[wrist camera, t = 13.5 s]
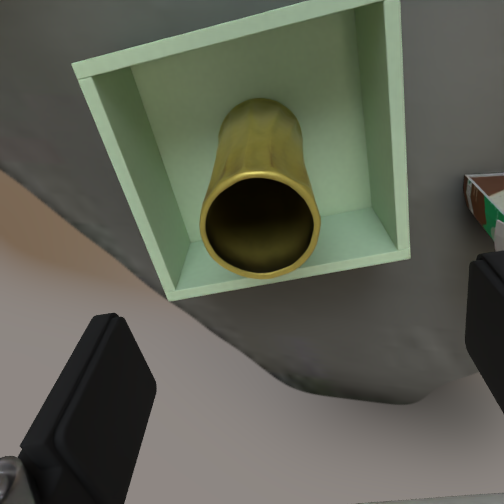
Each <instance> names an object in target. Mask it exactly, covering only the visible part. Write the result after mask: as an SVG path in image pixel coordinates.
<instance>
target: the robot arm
mask: <svg viewBox="0 0 504 504" xmlns="http://www.w3.org/2000/svg"><path fill="white" fill-rule="evenodd" d="M465 344H466V348H467V351H468V353H469V355H470V357H471V358H472V360H473V362H474V363H475V365H476V367H477V369H478V370H479V372H480V374H481V375H482V377H483V379H484V381H485V382H486V384H487V386H488V387H489V389H490V391H491V393H492V394H493V396H494V398H495V399H496V401H497V403H498V404H499V406H500V408H501V410H502V411H503V413H504V251H503V250H502V251H496V252H490V253H483V254H479V255H478V256H477V259H476V261H472V262H471V263H470V266H469V282H468V298H467V314H466V330H465ZM155 395H156V381H155V379H154V377H153V375H152V373H151V371H150V369H149V367H148V365H147V363H146V361H145V359H144V357H143V355H142V353H141V351H140V349H139V347H138V345H137V343H136V341H135V339H134V337H133V334H132V332H131V331H130V328H129V326H128V325H127V322H126V320H125V319H124V318H123V317H119V316H118V315H117V314H116V313H109V314H103V315H96V316H94V317H93V318H92V319H91V321H90V323H89V325H88V327H87V328H86V330H85V332H84V334H83V335H82V337H81V339H80V341H79V342H78V344H77V346H76V348H75V349H74V351H73V353H72V355H71V357H70V358H69V360H68V362H67V363H66V365H65V367H64V369H63V371H62V372H61V374H60V376H59V378H58V379H57V381H56V383H55V385H54V386H53V388H52V390H51V392H50V394H49V395H48V397H47V399H46V401H45V402H44V404H43V406H42V408H41V409H40V411H39V413H38V415H37V416H36V418H35V420H34V422H33V424H32V425H31V427H30V429H29V430H28V432H27V434H26V436H25V438H24V440H23V441H22V443H21V445H20V447H21V448H22V451H21V452H20V454H19V456H18V458H17V457H14V456H5V457H2V458H0V504H124V502H125V499H126V495H127V492H128V488H129V485H130V481H131V478H132V474H133V471H134V467H135V464H136V460H137V457H138V454H139V450H140V447H141V443H142V440H143V437H144V433H145V430H146V426H147V423H148V419H149V416H150V412H151V409H152V406H153V402H154V399H155ZM358 504H504V493H494V494H479V495H464V496H451V497H438V498H424V499H411V500H398V501H385V502H371V503H358Z"/></svg>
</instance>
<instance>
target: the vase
mask: <svg viewBox="0 0 504 504" xmlns="http://www.w3.org/2000/svg"><path fill="white" fill-rule="evenodd" d="M199 227H200V235H201V238H202V241H203V243H204V246H205V248H206V250H207V252H208V253H209V255H210V256H211V257H212V258H213V260H214V261H215V262H217V263H218V264H219V265H220V266H222V267H223V268H225V269H227V270H229V271H231V272H233V273H235V274H237V275H240V276H242V277H246V278H252V279H272V278H276V277H279V276H282V275H285V274H288V273H290V272H292V271H294V270H296V269H297V268H299V267H300V266H301V265H302V264H303V263H305V262H306V260H307V259H308V258H309V257H310V256H311V254H312V253H313V251H314V249H315V247H316V245H317V241H318V237H319V233H320V227H321V216H320V213H319V210H318V207H317V204H316V201H315V197H314V194H313V190H312V186H311V183H310V180H309V177H308V173H307V170H306V167H305V162H304V157H303V136H302V131H301V127H300V124H299V122H298V120H297V118H296V116H295V115H294V114H293V113H292V112H291V111H290V110H289V109H288V108H287V107H285V106H284V105H282V104H281V103H279V102H277V101H274V100H271V99H265V98H254V99H250V100H247V101H244V102H242V103H240V104H238V105H237V106H235V107H234V108H233V109H232V110H231V111H230V112H229V113H228V114H227V116H226V117H225V119H224V120H223V122H222V125H221V127H220V131H219V135H218V147H217V152H216V159H215V163H214V167H213V171H212V175H211V180H210V183H209V186H208V189H207V192H206V195H205V198H204V201H203V203H202V208H201V213H200V222H199Z"/></svg>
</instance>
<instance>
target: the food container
mask: <svg viewBox="0 0 504 504" xmlns="http://www.w3.org/2000/svg"><path fill="white" fill-rule="evenodd" d="M463 191H464V196H465V200H466V205H467V207H468V208H469V209H470V211H471V212H472V214H473V215H474V217H475V218H476V219H477V221H478V222H479V223H480V224H481V226H482V227H483V228H484V229H485V231H486V232H487V233H488V234H489V236H490V237H491V238H492V239H493V241H494V242H495V250H496V251H502V250H503V251H504V173H492V174H474V175H465V176H464V185H463Z"/></svg>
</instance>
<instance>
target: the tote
mask: <svg viewBox="0 0 504 504" xmlns="http://www.w3.org/2000/svg"><path fill="white" fill-rule="evenodd" d="M72 67H73V70H74V72H75V75H76V77H77V79H78V82H79V84H80V87H81V89H82V92H83V94H84V96H85V99H86V101H87V104H88V106H89V109H90V111H91V113H92V116H93V118H94V121H95V123H96V126H97V128H98V131H99V133H100V135H101V138H102V140H103V143H104V145H105V148H106V150H107V152H108V155H109V157H110V160H111V162H112V165H113V167H114V169H115V172H116V174H117V177H118V179H119V182H120V184H121V187H122V189H123V191H124V194H125V196H126V199H127V201H128V204H129V206H130V208H131V211H132V213H133V216H134V218H135V221H136V223H137V226H138V228H139V230H140V233H141V235H142V238H143V240H144V243H145V245H146V247H147V250H148V252H149V255H150V257H151V260H152V262H153V264H154V267H155V269H156V272H157V274H158V277H159V279H160V282H161V284H162V286H163V289H164V291H165V294H166V296H167V299H168V301H175V300H180V299H186V298H192V297H197V296H203V295H208V294H214V293H220V292H225V291H231V290H237V289H242V288H248V287H254V286H259V285H265V284H270V283H276V282H282V281H287V280H293V279H299V278H304V277H310V276H315V275H321V274H327V273H332V272H338V271H344V270H349V269H355V268H360V267H366V266H372V265H377V264H383V263H389V262H394V261H400V260H405V259H410V235H409V209H408V184H407V159H406V134H405V108H404V83H403V58H402V32H401V7H400V0H309V1H305V2H301V3H298V4H294V5H290V6H286V7H282V8H279V9H275V10H271V11H267V12H264V13H260V14H256V15H252V16H249V17H245V18H241V19H237V20H234V21H230V22H226V23H222V24H218V25H215V26H211V27H207V28H203V29H200V30H196V31H192V32H188V33H185V34H181V35H177V36H173V37H170V38H166V39H162V40H158V41H155V42H151V43H147V44H143V45H139V46H136V47H132V48H128V49H124V50H121V51H117V52H113V53H109V54H106V55H102V56H98V57H94V58H91V59H87V60H83V61H79V62H75V63H72ZM254 98H265V99H271V100H274V101H277V102H279V103H281V104H282V105H284V106H285V107H287V108H288V109H289V110H290V111H291V112H292V113H293V114H294V115H295V116H296V118H297V120H298V122H299V124H300V127H301V131H302V136H303V157H304V162H305V167H306V170H307V173H308V177H309V180H310V183H311V186H312V190H313V194H314V197H315V201H316V204H317V207H318V210H319V213H320V216H321V227H320V233H319V237H318V241H317V245H316V247H315V249H314V251H313V253H312V254H311V256H310V257H309V258H308V259H307V260H306V262H305V263H303V264H302V265H301V266H300V267H299V268H297V269H296V270H294V271H292V272H290V273H288V274H285V275H282V276H279V277H276V278H272V279H252V278H246V277H242V276H240V275H237V274H235V273H233V272H231V271H229V270H227V269H225V268H223V267H222V266H220V265H219V264H218V263H217V262H215V261H214V260H213V258H212V257H211V256H210V255H209V253H208V252H207V250H206V248H205V246H204V243H203V241H202V238H201V235H200V227H199V222H200V213H201V208H202V203H203V201H204V198H205V195H206V192H207V189H208V186H209V183H210V180H211V175H212V171H213V167H214V163H215V159H216V152H217V147H218V135H219V131H220V127H221V125H222V122H223V120H224V119H225V117H226V116H227V114H228V113H229V112H230V111H231V110H232V109H233V108H234V107H235V106H237V105H238V104H240V103H242V102H244V101H247V100H250V99H254Z"/></svg>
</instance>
